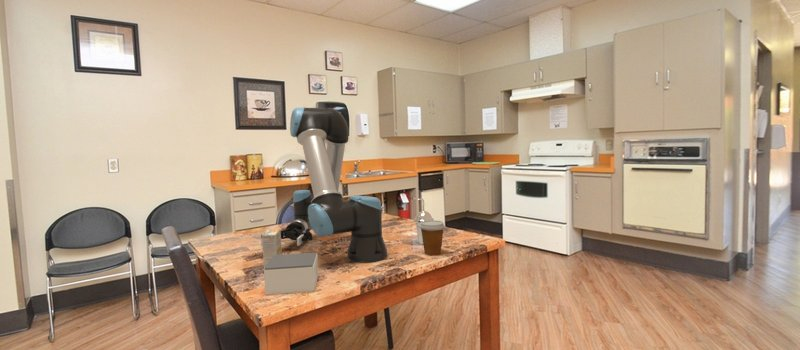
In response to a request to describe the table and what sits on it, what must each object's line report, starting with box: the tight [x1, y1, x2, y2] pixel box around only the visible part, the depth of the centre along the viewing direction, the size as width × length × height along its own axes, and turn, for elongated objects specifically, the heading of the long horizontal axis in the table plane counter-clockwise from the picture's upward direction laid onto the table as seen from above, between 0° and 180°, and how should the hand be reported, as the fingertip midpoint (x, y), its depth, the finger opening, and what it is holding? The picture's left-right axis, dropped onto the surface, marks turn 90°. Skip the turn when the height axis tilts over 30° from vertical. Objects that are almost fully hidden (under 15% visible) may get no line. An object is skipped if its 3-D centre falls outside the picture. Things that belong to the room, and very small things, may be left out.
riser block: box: [263, 252, 319, 295], centre depth 120 cm, size 14×14×8 cm
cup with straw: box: [411, 197, 434, 245], centre depth 164 cm, size 8×9×20 cm
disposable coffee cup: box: [420, 219, 445, 256], centre depth 149 cm, size 10×10×12 cm
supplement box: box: [261, 228, 283, 270], centre depth 136 cm, size 8×5×13 cm, turn 5°
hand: (279, 242), depth 144 cm, fingers open, 13 cm apart
